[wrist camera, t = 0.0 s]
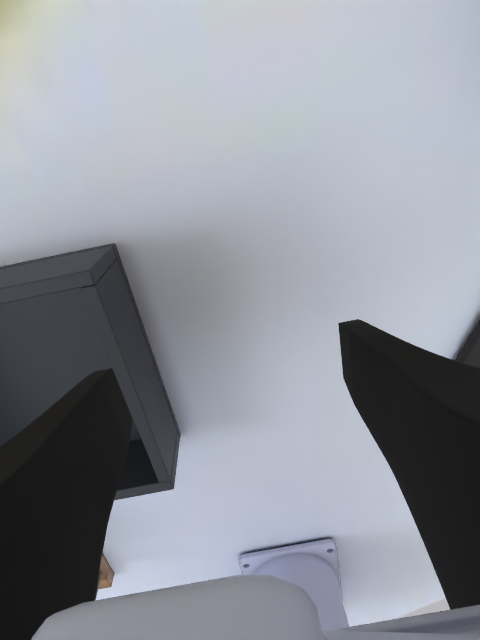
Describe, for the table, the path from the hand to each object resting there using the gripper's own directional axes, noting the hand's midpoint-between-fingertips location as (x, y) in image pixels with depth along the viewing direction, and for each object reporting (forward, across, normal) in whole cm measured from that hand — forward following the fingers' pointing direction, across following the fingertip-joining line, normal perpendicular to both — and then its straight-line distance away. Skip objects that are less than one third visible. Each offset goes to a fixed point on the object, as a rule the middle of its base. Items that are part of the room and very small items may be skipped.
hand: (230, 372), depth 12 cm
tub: (+10, +12, +4) cm, 16 cm away
